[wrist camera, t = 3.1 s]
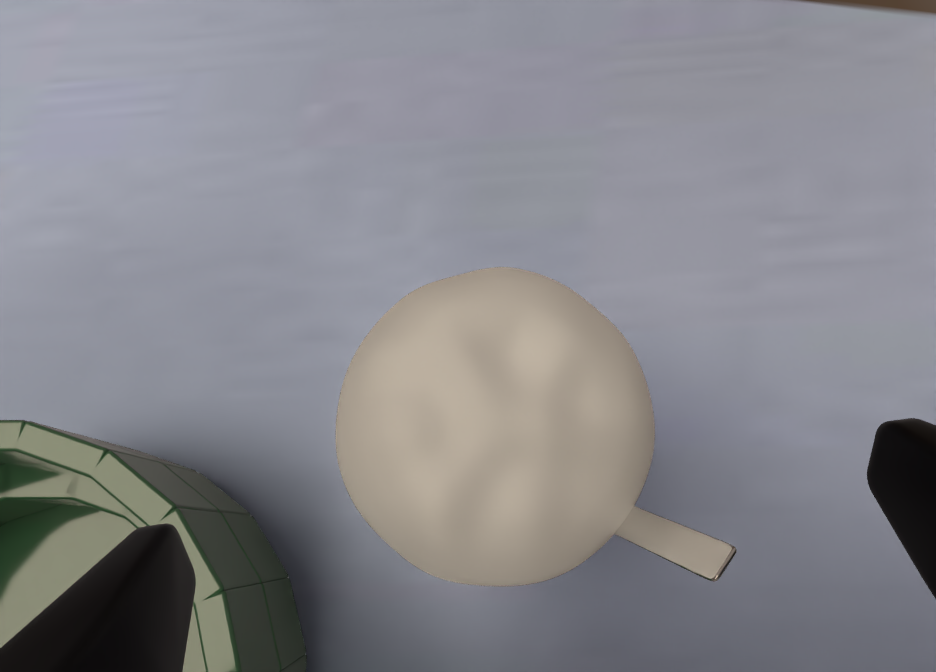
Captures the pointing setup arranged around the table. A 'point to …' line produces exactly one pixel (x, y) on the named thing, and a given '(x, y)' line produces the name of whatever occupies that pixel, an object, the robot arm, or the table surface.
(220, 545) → the bowl
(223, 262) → the table surface
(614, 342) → the milkshake
